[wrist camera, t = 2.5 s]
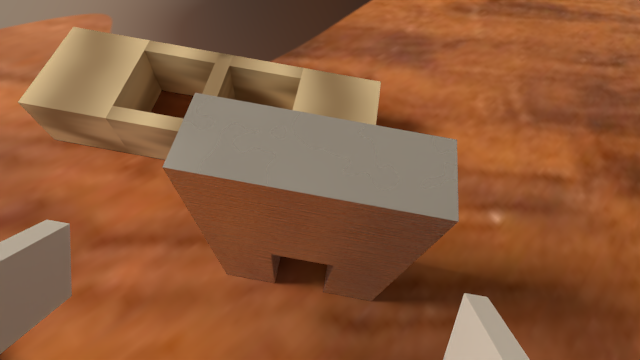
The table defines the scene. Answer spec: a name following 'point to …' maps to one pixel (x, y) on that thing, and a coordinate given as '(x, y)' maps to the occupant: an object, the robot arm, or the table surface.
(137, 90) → the beige open box
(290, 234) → the grey notched block
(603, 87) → the table surface
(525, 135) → the table surface
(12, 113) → the table surface
